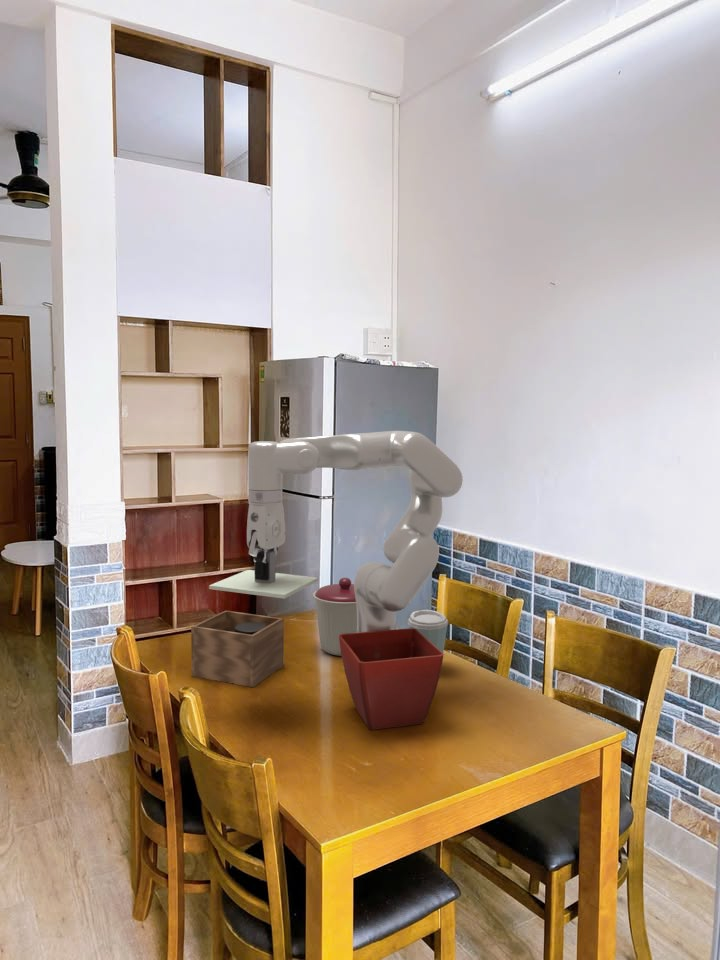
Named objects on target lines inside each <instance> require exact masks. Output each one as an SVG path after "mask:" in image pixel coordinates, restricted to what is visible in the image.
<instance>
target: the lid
mask: <svg viewBox="0 0 720 960" xmlns="http://www.w3.org/2000/svg"><path fill="white" fill-rule="evenodd" d="M259 552H261V551H259ZM261 553H262V555H263V552H261ZM267 562H269V579H268V580H258V579H255V569H254V570H252V569H246V570H244V571H241V572H238V573H237V574H234V575H231V576H229V577H227V578H224V579H221V580H219V581H216V582H214V583H212V584H210V585H208V589H209V590H213V591H214V590H215V591H224V592H231V593H237V594H238V593H239V594H247V595H254V596H260V597H262V596H263V597H267V598H268V597H269V598H277V599H287V598H288V597H291V596H292V595H294V594H296V593H298V592H300V591H302V590H305V589H306V588H308V587H310V586H311V585H313V584H316V583H317V582H319V577H314V576H306V575H298V574H288V573H281V572H280V573H279V572H276V576H275V562H277V558H276V551H273V550H267Z"/></svg>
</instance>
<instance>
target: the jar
mask: <svg viewBox="0 0 720 960" xmlns="http://www.w3.org/2000/svg"><path fill="white" fill-rule="evenodd" d="M265 627H266V626H265V625H264V624H261V623H255V622H249V623H242V624H239V625H237V626H236V627H235V632H237V633H243V634H250V635H253V634H254V633H256V632H258V631H260V630H261V629H263V628H265Z"/></svg>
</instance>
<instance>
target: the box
mask: <svg viewBox="0 0 720 960" xmlns="http://www.w3.org/2000/svg"><path fill="white" fill-rule="evenodd" d="M284 619H285V618H282V617H274V616H267V615H260V614H253V613H248V612H247V613H246V612H240V611H239V612H238V611H232V610H224V611H221V612H219V613H217V614H216V615H213V616H211V617H209V618H207V619H205V620H202V621H201V622H198V623H196V624H195V625H192V626H191V627H190V630H191V631H190V633H191V635H190V636H191V637H190V638H191V641H190V642H191V644H190V645H191V646H190V647H191V648H190V649H191V677H193V676H194V678H200V679H204V678H205V679H206V680H210V681H215V680H217V682H223V683H226V682H228V683H227V684H232V683H234V684H233V685H239V686H243V687H251V688H254V687H256V686H257V685H258V684H260V683H261V682H263V681H264V680H266V679H267V678H269V677H271V675H273V674H274V673H275V672H277V671H278V670H280V669H281V668H283V667H284V657H285V655H284V653H285V651H284V647H285V645H284V644H285V643H284V642H285V641H284V636H285V633H284V632H285V631H284V630H285V629H284V628H285V626H284V625H285V620H284ZM249 622H255V623H261V624H264V625H265V626H266V627H265V628H263V629H261V630H260V631H258V632H256V633H254V634H253V635H250V634H243V633H237V632H235V627H236V626H237V625H239V624H242V623H249ZM268 676H269V677H268Z"/></svg>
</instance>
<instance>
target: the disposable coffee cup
mask: <svg viewBox="0 0 720 960" xmlns="http://www.w3.org/2000/svg"><path fill="white" fill-rule="evenodd" d="M407 624H408V628H413V629H417V630H418V631H419V632H420V633H421V634H422V635H423V636H424V637H425V638H426V639H428V640H429V641H430V642H431V643H432V644H433V645H434V646H435V647H436V648H438V649H439V650H440V651H441V652H442V653H443V654H444V652H445V651H444V649H445V645H446V644H445V642H446V637H447V630H448V625H449V620H448V618H447V617H446V616H445V614H444V613H442V612H439V611H437V610H431V609H421V610H420V609H419V610H415V611H412V612H411V614H410V616H409V618H408V620H407Z"/></svg>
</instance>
